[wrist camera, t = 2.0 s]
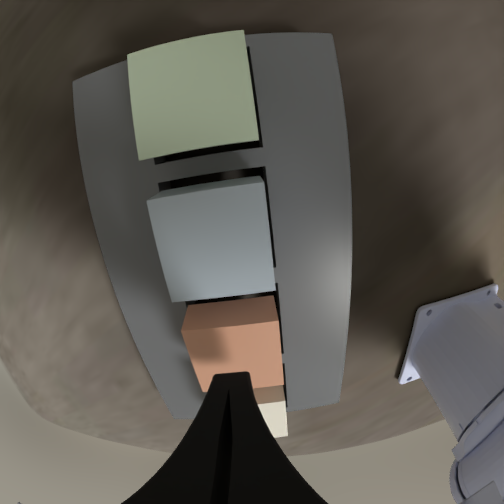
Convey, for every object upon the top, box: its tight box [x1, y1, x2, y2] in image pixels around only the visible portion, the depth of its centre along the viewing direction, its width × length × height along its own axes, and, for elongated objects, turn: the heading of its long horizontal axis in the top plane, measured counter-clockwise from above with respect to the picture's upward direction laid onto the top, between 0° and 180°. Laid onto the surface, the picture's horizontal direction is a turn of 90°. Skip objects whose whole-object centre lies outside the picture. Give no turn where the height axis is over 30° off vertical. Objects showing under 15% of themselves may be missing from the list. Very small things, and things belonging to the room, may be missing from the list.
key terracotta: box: [181, 295, 284, 392], centre depth 13 cm, size 4×4×3 cm
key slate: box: [147, 176, 276, 302], centre depth 11 cm, size 4×4×3 cm
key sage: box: [127, 30, 259, 161], centre depth 9 cm, size 4×4×3 cm
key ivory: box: [253, 385, 288, 438], centre depth 15 cm, size 4×4×3 cm
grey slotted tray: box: [72, 32, 352, 419], centre depth 14 cm, size 12×22×2 cm, turn 7°
